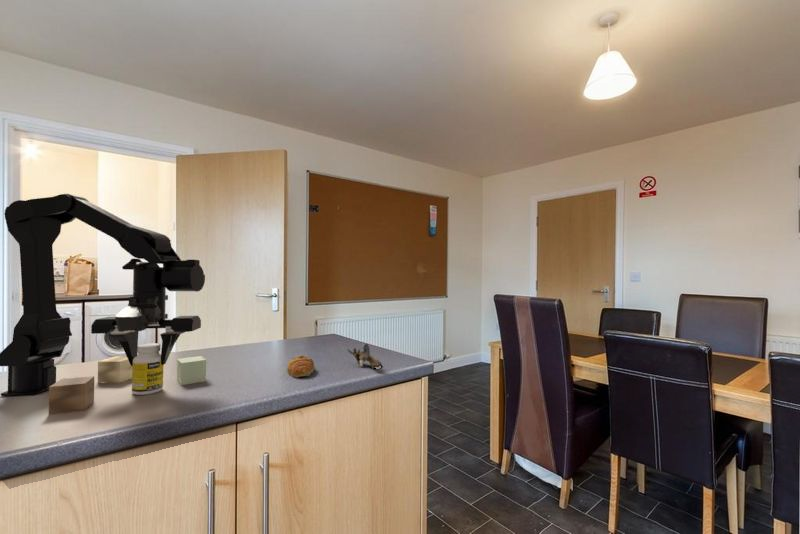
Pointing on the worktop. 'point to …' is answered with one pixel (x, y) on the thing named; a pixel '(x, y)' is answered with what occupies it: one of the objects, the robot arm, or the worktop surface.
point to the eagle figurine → (365, 356)
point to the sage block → (191, 370)
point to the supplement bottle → (147, 370)
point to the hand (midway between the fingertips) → (148, 365)
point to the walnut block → (71, 395)
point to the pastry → (300, 366)
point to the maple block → (114, 370)
